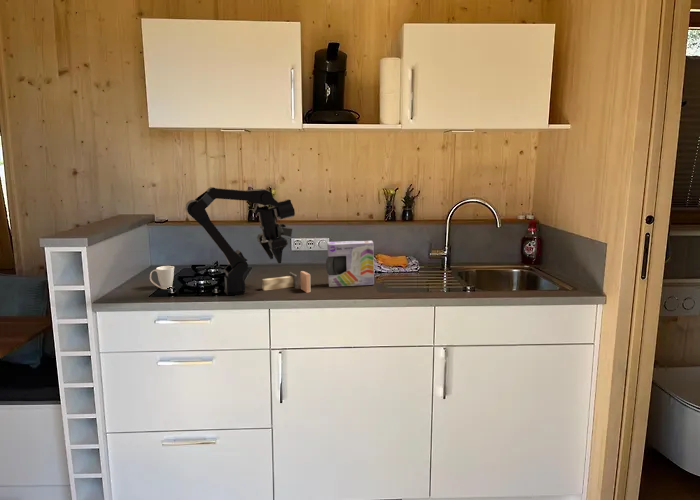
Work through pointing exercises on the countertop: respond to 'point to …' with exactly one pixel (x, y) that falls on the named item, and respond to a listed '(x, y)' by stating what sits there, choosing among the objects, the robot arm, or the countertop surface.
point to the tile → (305, 281)
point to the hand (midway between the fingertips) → (275, 261)
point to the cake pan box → (350, 263)
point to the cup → (164, 276)
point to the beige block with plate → (280, 282)
